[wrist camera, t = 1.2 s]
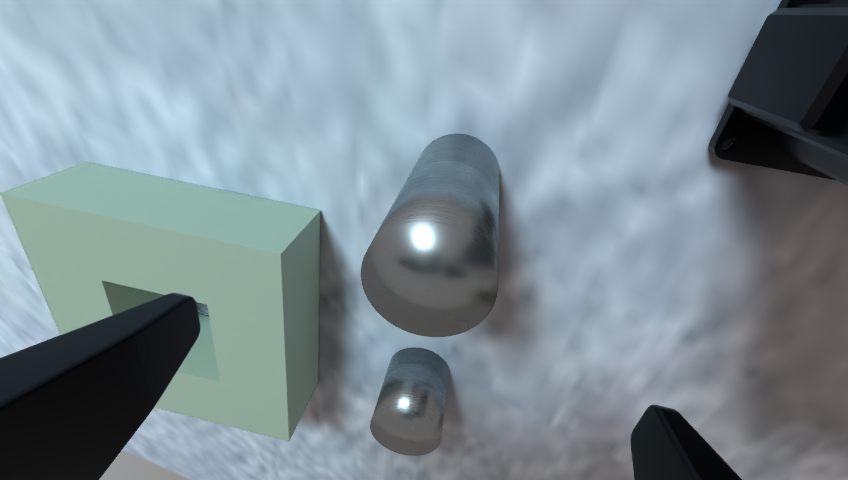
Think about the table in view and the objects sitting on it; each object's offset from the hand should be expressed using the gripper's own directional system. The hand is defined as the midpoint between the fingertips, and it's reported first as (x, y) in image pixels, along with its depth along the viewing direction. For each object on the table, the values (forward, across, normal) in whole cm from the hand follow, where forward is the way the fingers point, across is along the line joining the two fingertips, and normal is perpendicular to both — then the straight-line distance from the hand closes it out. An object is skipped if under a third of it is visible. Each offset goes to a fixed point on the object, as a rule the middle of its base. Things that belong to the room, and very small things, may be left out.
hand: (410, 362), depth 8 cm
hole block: (+11, +12, +9) cm, 18 cm away
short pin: (+11, 0, +12) cm, 16 cm away
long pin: (+11, 0, 0) cm, 11 cm away
